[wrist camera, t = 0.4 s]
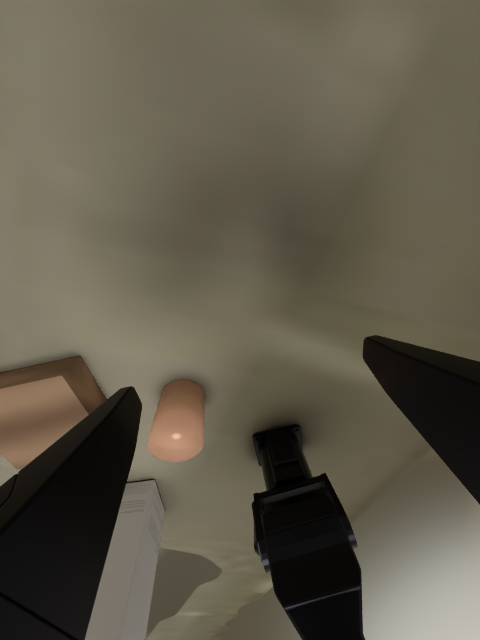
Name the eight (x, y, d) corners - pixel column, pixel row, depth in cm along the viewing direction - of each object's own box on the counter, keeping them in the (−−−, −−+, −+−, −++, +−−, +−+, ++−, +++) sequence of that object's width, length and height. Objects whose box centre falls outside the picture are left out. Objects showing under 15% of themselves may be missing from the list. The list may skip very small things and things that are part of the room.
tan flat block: (121, 424, 26) (111, 447, 24) (37, 443, 26) (17, 469, 23) (80, 355, 22) (61, 375, 19) (-22, 377, 22) (-55, 400, 19)
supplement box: (88, 486, 31) (-9, 699, 17) (155, 477, 31) (114, 673, 18) (106, 520, 34) (39, 716, 21) (165, 511, 35) (138, 694, 22)
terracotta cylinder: (209, 407, 27) (209, 455, 22) (168, 416, 27) (158, 466, 22) (198, 375, 25) (195, 419, 19) (154, 385, 25) (138, 432, 19)
